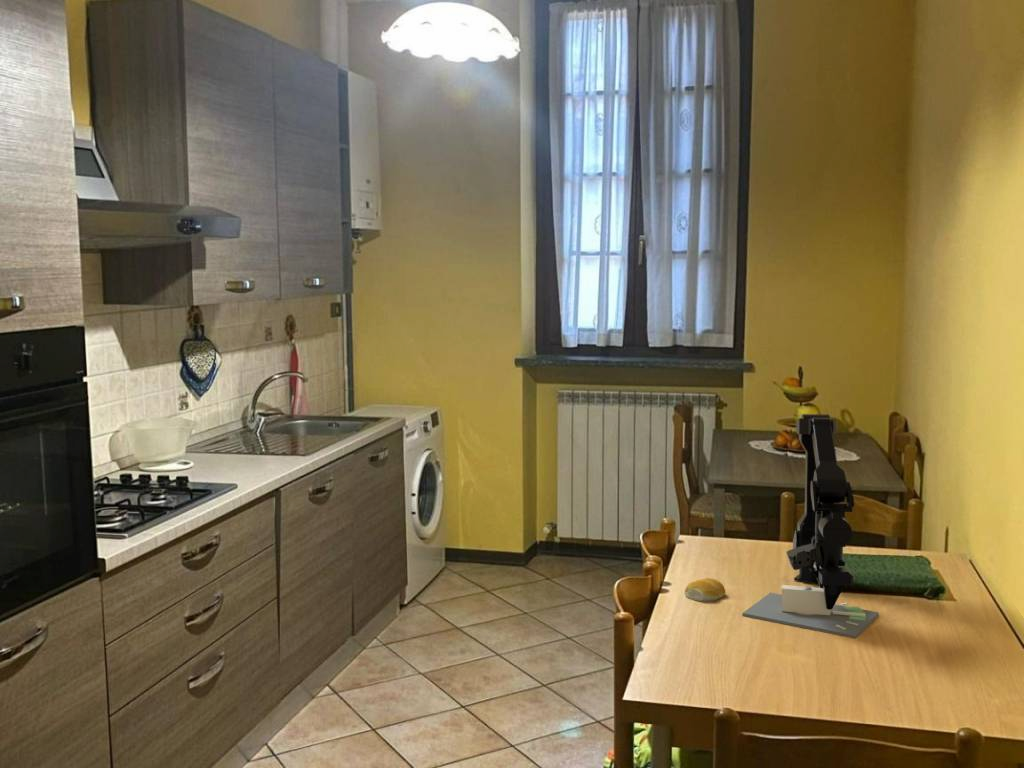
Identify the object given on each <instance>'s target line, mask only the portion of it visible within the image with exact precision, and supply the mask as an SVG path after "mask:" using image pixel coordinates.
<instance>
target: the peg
mask: <svg viewBox="0 0 1024 768" xmlns="http://www.w3.org/2000/svg"><path fill="white" fill-rule="evenodd" d="M781 585H782V586H781V595H782V607H781V611H785V612H796V613H807V614H818V615H830V612H831V610H830V609H827V608H826V602H825V596H824V589H823V588H820V587H812V586H806V585H805V586H803V585H802V586H799V585H788V584H786V585H785V584H781ZM833 614H839V615H850V616H861V617H865V614H864V613H853V612H841V611H833Z"/></svg>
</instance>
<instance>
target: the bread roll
mask: <svg viewBox="0 0 1024 768" xmlns="http://www.w3.org/2000/svg"><path fill="white" fill-rule="evenodd" d="M684 595H685V596H686V598H688V599H691V600H693V601H697V602H714V601H717V600H719V599H722V598H723V597H724V596H725V595H726V589H725V587H724V584H722V582H720V581H719V580H717V579H715V578H712V577H711V578H710V577H707V578H701V579H698V580H694V581H692V582H691V581H690V583H688V584H687V585H686V587H685V588H684Z"/></svg>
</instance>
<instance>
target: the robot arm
mask: <svg viewBox="0 0 1024 768" xmlns="http://www.w3.org/2000/svg"><path fill="white" fill-rule="evenodd" d="M795 423H796V424H795V430H796V435H798V440H799V442H800V444H801V445H802V447H803V449H804V452H805V457H804V458H805V461H804V462H805V465H804V468H805V469H804V471H805V473H804V474H805V475H804V479H805V480H804V512H803V514H802V515H801V517H800V518H799V520H797V521H798V522H797V526H796V527H797V529H796V530H795V531H794V534H793V540H792V549H789V550H787V551H786V555H787V558H788V561H789V564H790V567H791V568H792V569H793V570H794V571H798V572H799V573H798V574H797V575H796V576H795V577H794V578H793V580H794V581H797V582H803V583H807V584H808V583H809V584H814V585H819V587H818V588H823V589H824V596H825V602H826V608H827V609H830V610H831V609H833V607H834V605H835V604H836V603H837V601H838V599H839V597H840V595H841V593H842V592H843V590H844V588H845V587H853V586H854V575H853V574H852V573H851V572H850V571H849V570H848V569H847V568H846V567H845V566H846V561H845V559H844V548H846V545H847V544H849V542H850V540H851V539H852V536H853V530H852V527H851V525H850V523H849V522H848V521H847V519H846V514H845V513H852V512H853V508H854V507H855V500H854V493H853V491H854V490H853V487H852V486H851V483H850V481H848V480H847V476H846V471H845V470H844V469H843V468H841V466H839V464H838V460H837V459H838V458H837V454H836V449H835V442H834V435H837V433H838V432H837V418H830V415H829V414H827V413H826V414H825V413H824V414H823V413H822V414H821V413H820V414H819V413H818V414H817V413H816V414H815V413H802V414H801V418H796V422H795ZM845 502H846V503H845Z"/></svg>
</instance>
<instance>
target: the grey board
mask: <svg viewBox="0 0 1024 768" xmlns="http://www.w3.org/2000/svg"><path fill="white" fill-rule="evenodd" d="M849 604H850V603H849V602H843V603H838V604H836V603H835V605H834V607H833V609H831V612H830V615H818V614H807V613H796V612H785V611H781V607H782V593H781V594H780V593H776V592H769V593H767V595H765V596H764V597H762V598H761V599H759V600H758V601H757V602H755V603H753V605H751V606H750V607H749V608H747V609H746V610H745V611H743V612H742V616H743V617H747V618H752V619H757V620H763V621H768V622H773V623H778V624H783V625H788V626H793V627H798V628H803V629H808V630H812V631H817V632H823V633H828V634H832V635H838V636H841V637H846V638H851V639H852V638H853V639H857V638H858V637H859V636H860V635H861V634H862V632H864V631H865V629H867V628H868V626H870V625H871V624H872V623H873V621H875V619H877V618H878V617H879V616H880V615H879V614H880V612H878V611H873V610H868V609H863V608H860V606H845V605H849ZM833 611H841V612H853V613H864V614H865V617H861V616H850V615H839V614H833Z"/></svg>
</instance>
